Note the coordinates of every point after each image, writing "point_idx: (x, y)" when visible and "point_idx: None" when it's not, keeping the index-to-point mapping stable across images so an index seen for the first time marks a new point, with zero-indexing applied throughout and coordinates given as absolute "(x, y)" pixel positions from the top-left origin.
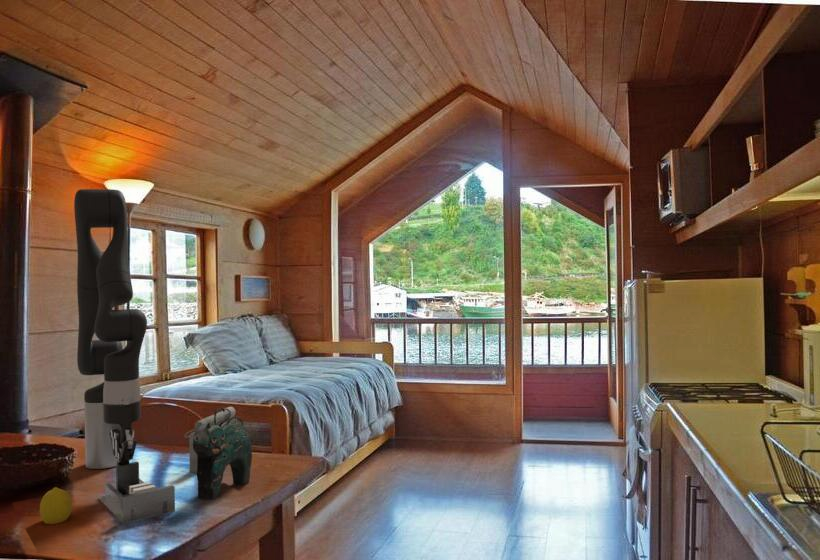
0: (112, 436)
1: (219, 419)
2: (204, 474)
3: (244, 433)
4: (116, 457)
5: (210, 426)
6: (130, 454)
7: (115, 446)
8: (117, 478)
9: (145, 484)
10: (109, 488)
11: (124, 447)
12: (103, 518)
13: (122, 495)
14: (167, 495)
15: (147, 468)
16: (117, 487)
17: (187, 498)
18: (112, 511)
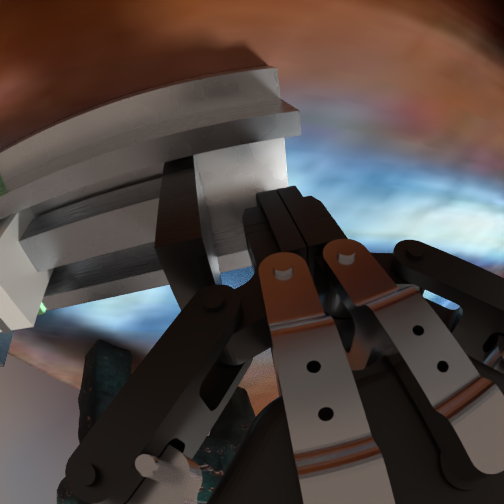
0: (452, 422)
1: None
2: (83, 418)
3: None
4: (340, 259)
5: None
6: (214, 371)
7: (331, 360)
8: (163, 197)
9: (5, 314)
10: (196, 128)
11: (80, 445)
12: (63, 95)
13: (45, 198)
14: None
15: (475, 242)
16: (169, 171)
17: (165, 324)
18: (32, 139)
